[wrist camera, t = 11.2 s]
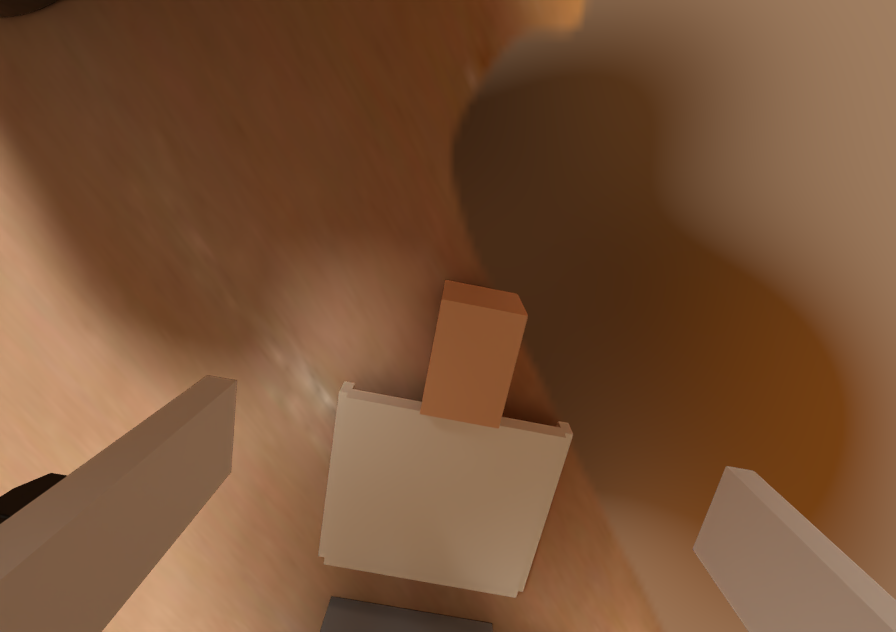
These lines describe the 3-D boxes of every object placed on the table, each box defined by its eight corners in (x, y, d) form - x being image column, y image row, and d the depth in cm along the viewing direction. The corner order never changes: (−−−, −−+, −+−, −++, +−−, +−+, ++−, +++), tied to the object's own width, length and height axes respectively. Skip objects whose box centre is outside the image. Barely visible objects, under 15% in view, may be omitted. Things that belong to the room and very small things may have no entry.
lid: (363, 263, 24) (343, 280, 20) (598, 309, 24) (623, 334, 20) (327, 531, 29) (307, 584, 25) (518, 565, 29) (527, 622, 26)
